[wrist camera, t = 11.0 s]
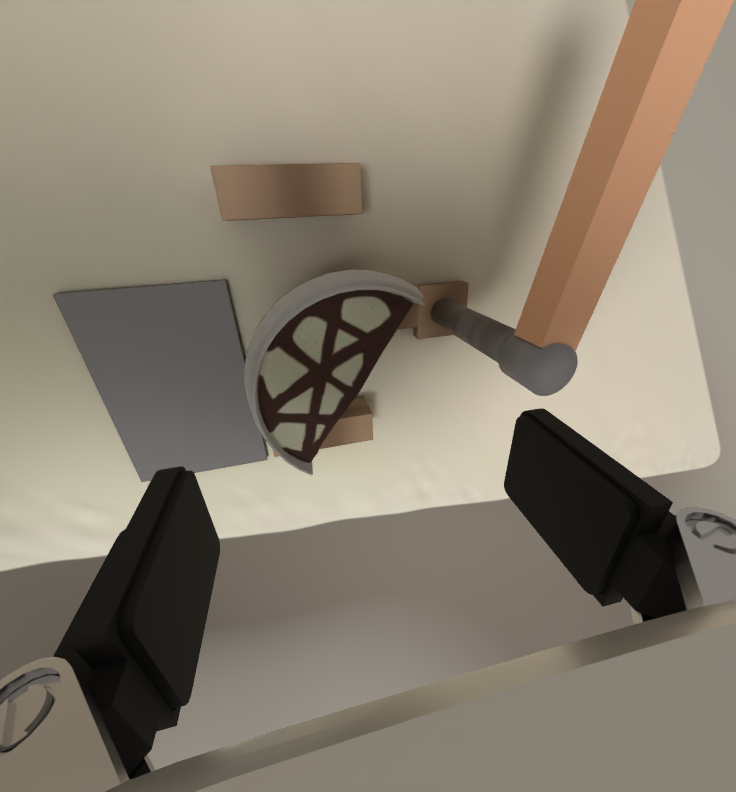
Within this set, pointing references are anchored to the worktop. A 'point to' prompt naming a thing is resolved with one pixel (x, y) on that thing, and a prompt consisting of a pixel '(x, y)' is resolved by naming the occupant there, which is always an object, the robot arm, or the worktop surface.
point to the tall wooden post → (610, 182)
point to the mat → (168, 373)
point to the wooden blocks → (342, 195)
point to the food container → (320, 355)
